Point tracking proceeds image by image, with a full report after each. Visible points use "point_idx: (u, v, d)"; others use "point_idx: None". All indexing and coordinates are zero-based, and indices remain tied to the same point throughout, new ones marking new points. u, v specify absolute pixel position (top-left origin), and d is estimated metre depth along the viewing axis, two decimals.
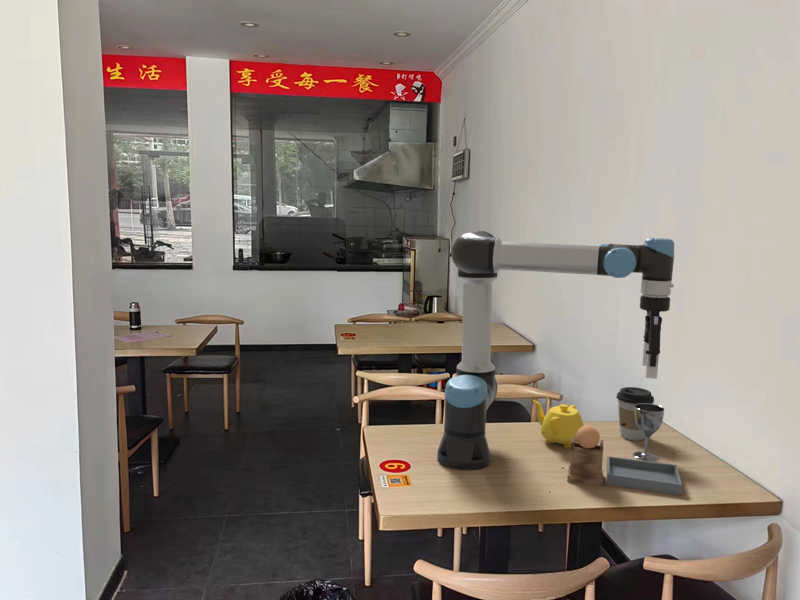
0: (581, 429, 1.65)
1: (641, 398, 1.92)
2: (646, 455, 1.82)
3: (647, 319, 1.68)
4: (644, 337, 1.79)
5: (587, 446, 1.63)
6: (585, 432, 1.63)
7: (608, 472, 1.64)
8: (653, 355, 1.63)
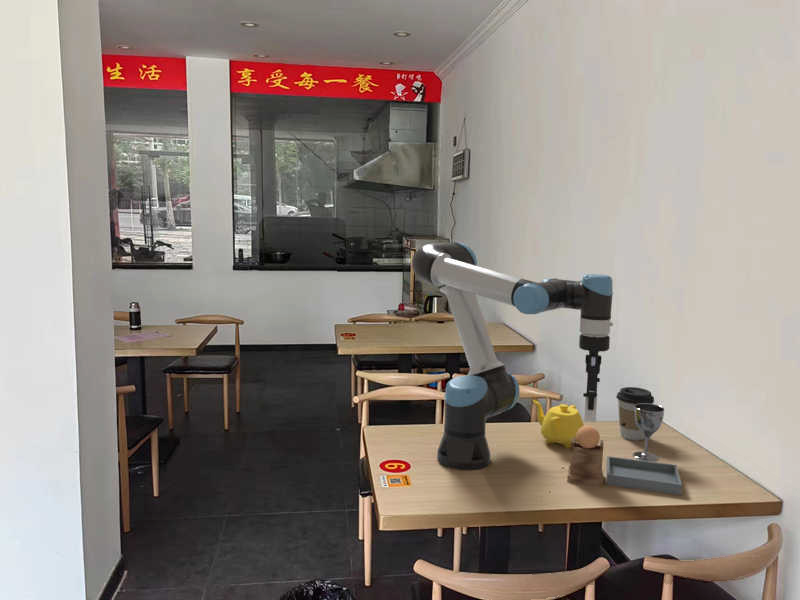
0: (581, 429, 1.65)
1: (641, 398, 1.92)
2: (646, 455, 1.82)
3: (586, 359, 1.61)
4: (587, 375, 1.72)
5: (587, 446, 1.63)
6: (585, 432, 1.63)
7: (608, 472, 1.64)
8: (591, 398, 1.55)
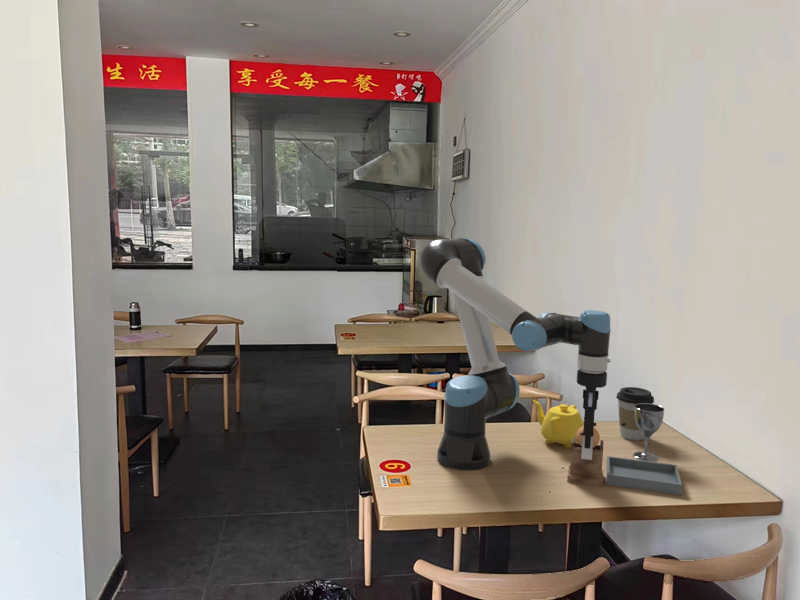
0: (581, 429, 1.65)
1: (641, 398, 1.92)
2: (646, 455, 1.82)
3: (583, 396, 1.62)
4: None
5: None
6: None
7: (608, 472, 1.64)
8: (587, 437, 1.61)
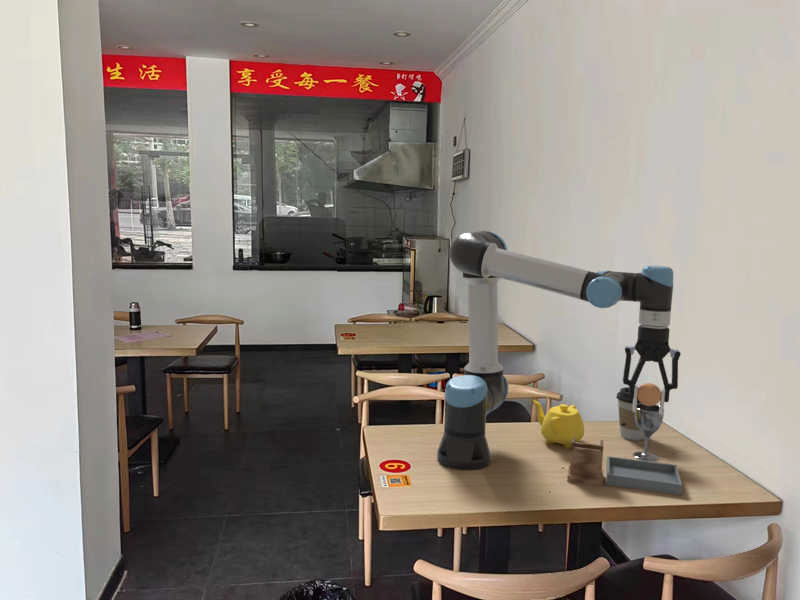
0: None
1: None
2: (646, 455, 1.82)
3: None
4: (671, 383, 1.62)
5: (638, 399, 1.64)
6: None
7: (608, 472, 1.64)
8: (629, 386, 1.65)
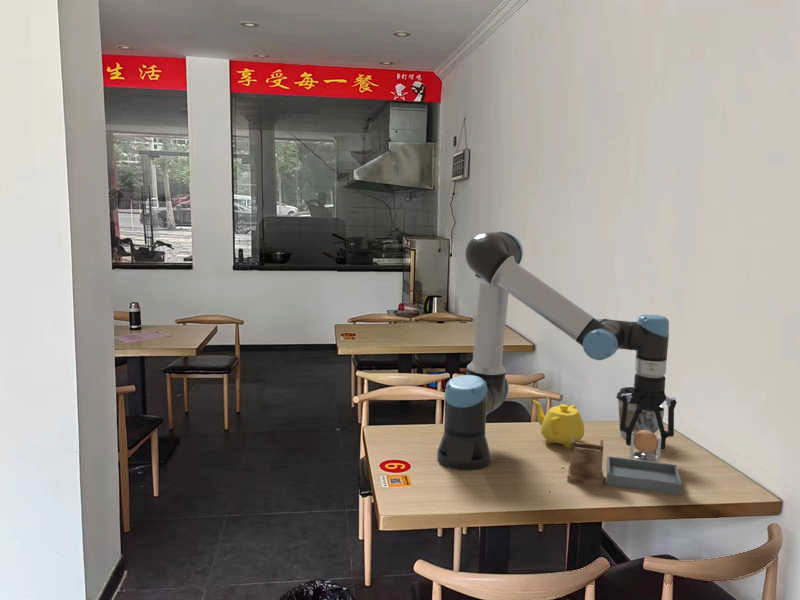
0: None
1: None
2: (646, 455, 1.82)
3: None
4: None
5: (635, 446, 1.66)
6: (637, 432, 1.66)
7: (608, 472, 1.64)
8: (626, 433, 1.67)
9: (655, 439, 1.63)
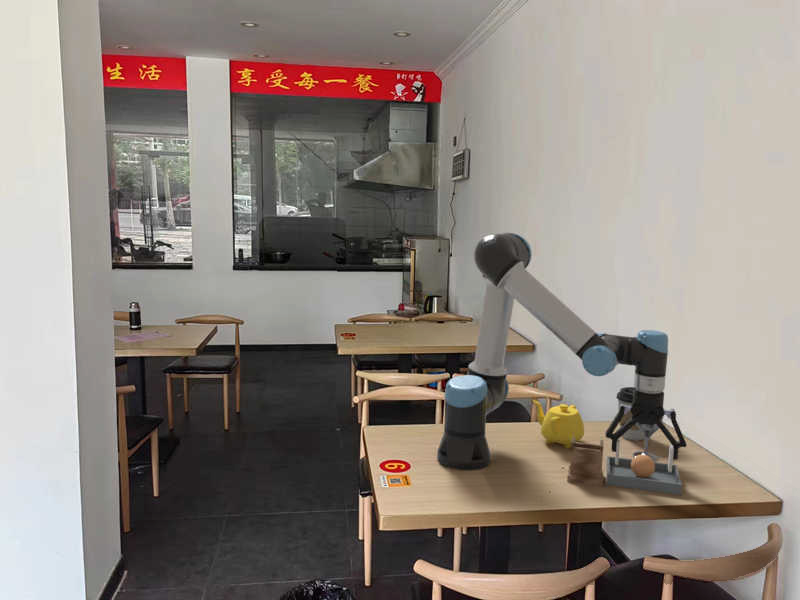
0: None
1: None
2: (646, 455, 1.82)
3: None
4: (680, 441, 1.64)
5: (632, 470, 1.67)
6: None
7: (608, 472, 1.64)
8: (611, 439, 1.68)
9: (652, 464, 1.64)
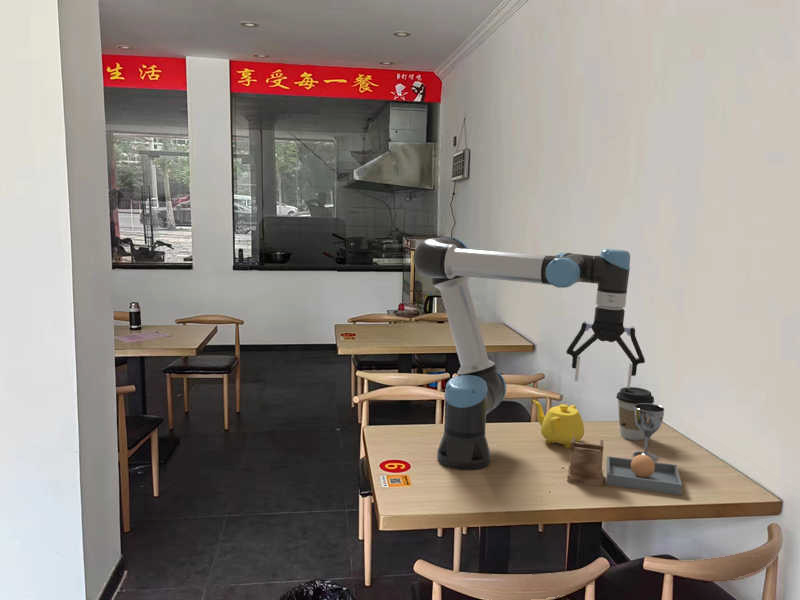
0: None
1: (641, 398, 1.92)
2: (646, 455, 1.82)
3: None
4: None
5: None
6: None
7: (608, 472, 1.64)
8: (572, 356, 1.72)
9: (652, 464, 1.64)
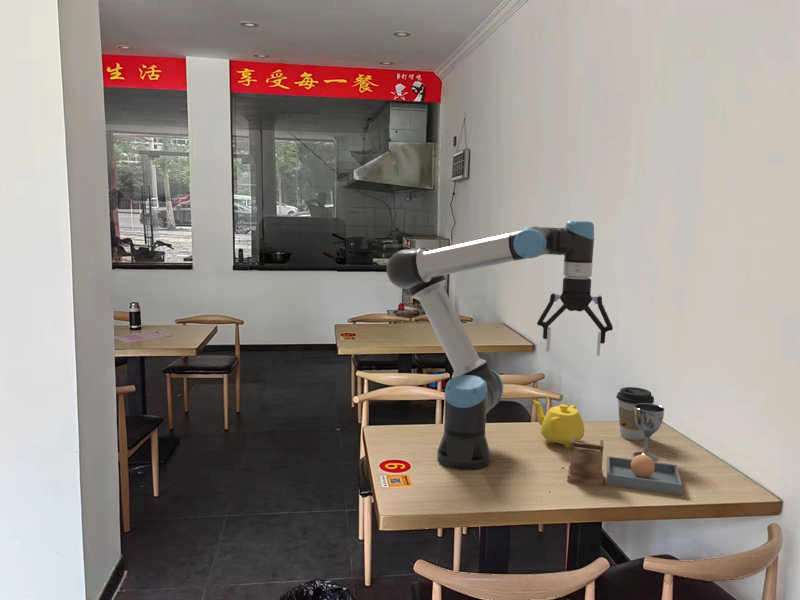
0: None
1: (641, 398, 1.92)
2: (646, 455, 1.82)
3: None
4: None
5: None
6: None
7: (608, 472, 1.64)
8: None
9: (652, 464, 1.64)
